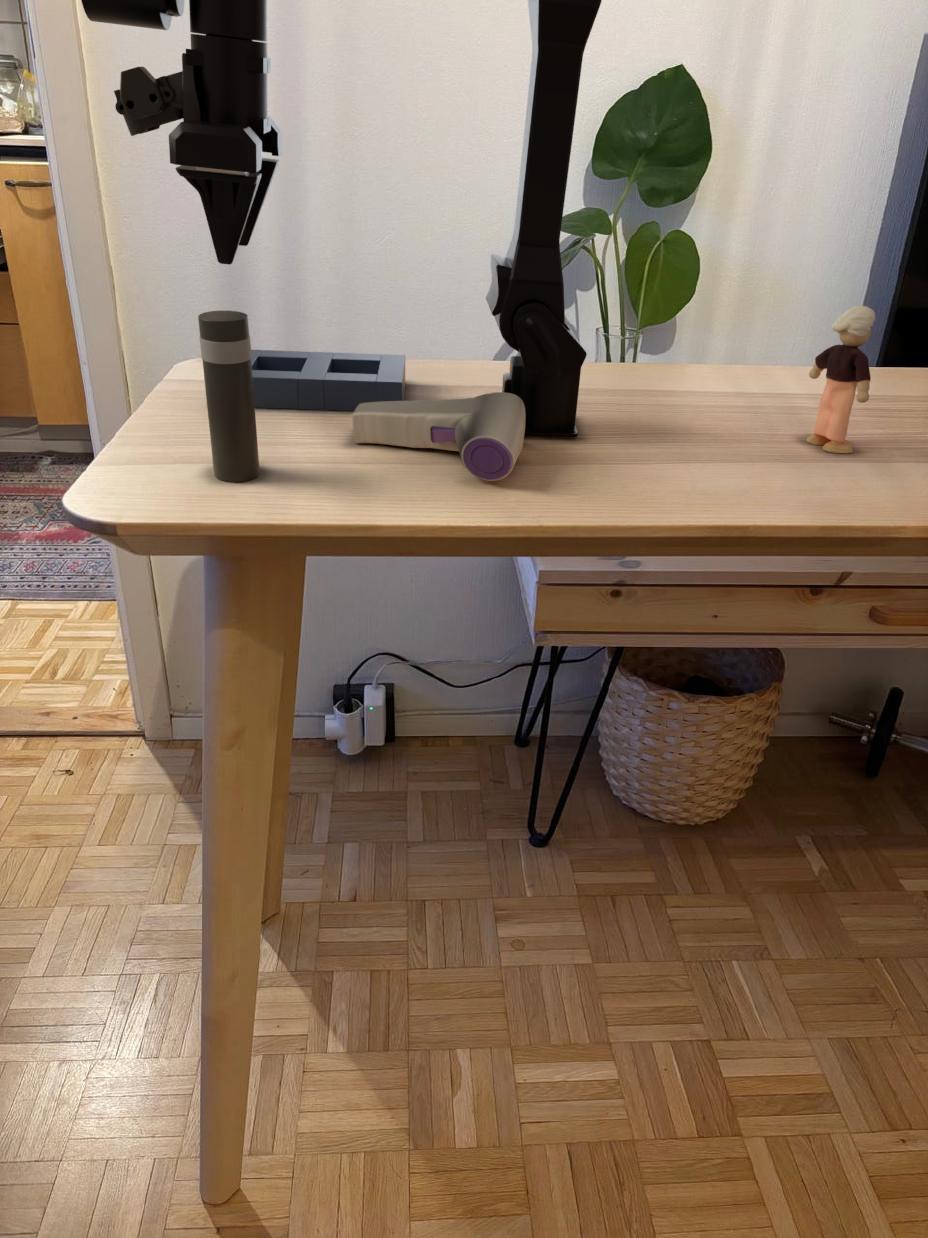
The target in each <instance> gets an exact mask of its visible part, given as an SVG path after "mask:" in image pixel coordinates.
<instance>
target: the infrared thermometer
mask: <svg viewBox="0 0 928 1238" xmlns="http://www.w3.org/2000/svg"><path fill="white" fill-rule="evenodd" d="M351 417H352V428H353V429H352V431H353V440H354V444H378V445H388V446H396V447H397V446H398V447H406V448H414V449H435V450H446V451H453V452H459V453H458V454H459V456H460V459H461V462H462V464H463V466H464V468H465V469H466V470H467V471H468V472H469V473H470V474H471V475H472V476H474V477H476V478H478V479H481V480H484V481H489V482H490V481H491V482H493V481H501V480H503V479H505V478H507V476H509V474H511V473H512V471H513V469H514V467H515V465H516V462H517V460H518V458H519V456H520V454H521V453H522V450H523V446H524V440H525V436H524V433H525V420H526V417H525V406H524V403H523V401H522V399H521V398H520V397H518V396H517V395H515V394H511V393H505V392H502V391H501V392H499V391H498V392H497V391H496V392H490V393H489V392H488V393H484V394H480V395H477V396H475V397H468V398H467V397H465V398H449V399H448V398H447V399H428V400H425V399H424V400H403V401H381V402H368V403H360V404H358V406H357V407H356V409H355V410H354V411H352V416H351Z"/></svg>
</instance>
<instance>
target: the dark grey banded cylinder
mask: <svg viewBox="0 0 928 1238" xmlns="http://www.w3.org/2000/svg"><path fill="white" fill-rule="evenodd" d="M197 319H198V330H199V345H200V355H201V359H202V369H203V377H204V388H205V398H206V407H207V418H208V427H209V437H210V444H211V445H210V446H211V457H212V465H213V475H214V477H215V478H216V479H217V480H219V481H223V482H230V483H240V482H241V483H242V482H247V481H251V480H254V479H256V478H257V477H259V475H260V471H261V470H260V460H259V459H260V458H259V445H258V433H257V419H256V408H255V404H254V391H253V377H252V364H251V357H252V355H251V350H252V344H251V343H252V341H251V335H250V326H249V325H250V324H249V316H248V314H247V313H245V312H242V311H237V310H210V311H205V312H202V313H199V314H198V317H197Z"/></svg>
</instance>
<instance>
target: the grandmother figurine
mask: <svg viewBox="0 0 928 1238" xmlns="http://www.w3.org/2000/svg"><path fill="white" fill-rule="evenodd" d="M875 321H876V314H875V311H874V310H873V309H872V308H870V307H868V306H867V305H855V306H853V307H851V308H849V309H847V310H846V311H844V312H843V313H842V314H840V316H839V317H838V318H837V319H836V321H835V323H833V324H832V330H833V332H836V333H837V334H838V335H839V340H840V342H841V344H834V345H832V346H830V347H828V348H826V349H825V350H823V351H822V352H820V353H819V354H818V355H817V356H815V358H814V363H813V364H812V368H811V369H809V371H808V376H809V378H811V379H813V380H815V379H816V380H817V379H818V378H820V375H821V372H823V371H824V370H826V372H825V379H826V382H825V385H824V388H823V391H822V393H821V397H820V400H819V404H818V408H817V413H816V418H815V422H814V426H813V434H811V435H809V436H808V437H807V438H806V443H808V444H811V445H814V446H822V449H823V451H825V452H828V453H834V454H852V453H853V452H854V446H853V444H852V443H851V441H849V440H847V439H846V438H847V435H848V427H849V422H850V418H851V413H852V408H853V405H854V400H855V396H856V401H857V402H858V403H861V404H863V403H867V402H868V401H869V399H870V394H869V391H870V385H871V384H870V383H871V378H872V377H871V371H870V365H869V357H868V356H867V355H866V354H865V353H864V352H863V351H862V350H861V349H860V348H859V347H861V346H863V345H865V344H866V343H867V342H868V340H869V338H870V336H871V332H872V330H871V328H872V327H874V323H875ZM856 391H857V394H856Z"/></svg>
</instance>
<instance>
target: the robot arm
mask: <svg viewBox="0 0 928 1238" xmlns="http://www.w3.org/2000/svg"><path fill="white" fill-rule="evenodd" d="M80 1H81V5H82V8H83V11H84V13H85V15H86V17H87V19H88V20H89V21H90V22H93V23H94V22H95V23H96V22H97V23H104V24H111V25H112V24H113V25H121V26H129V27H138V28H145V29H152V30H162V31H169V29H170V27H171V25H172V19H173V17H176V18H179V17H183V15H184V11H185V5H186V4H185V2H186V0H80ZM188 5H189V7H188V8H189V25H190V26H189V32H190V48H185V52H182V53H181V65H182V66H181V67H182V69H181V71H178V72H175V73H171V74H167V75H161V76H159V77H157V78H155V77H154V76H153V74H152V73H151V72H150V71H149V70H148V69H147V68H146V67H145V66H136V67H133V68H128V69H126V70H123V71H120V84H119V88H118V89H115V90H113V93H114V96H115V98H116V103H115V107H114V108H115V110H116V112H117V113H118V114H119V115H122V116H123V119H124V121H125V124H126V127H127V129H128V132H129V134H130V136H131V137H134V136H136V135H142V134H145V133H149V132H152V131H155V130H159V129H160V128H161V126H163V125H165V124H169V123H173V122H177V121H180V120H183V121H181V122H179V123H178V125H176V126H175V128H174V129H173V130H172V131H171V132H170V133H168V148H169V164H172V165H174V166H175V165H176V167H175V171H176V172H177V174H178V175H179V176H180V177H183V178H184V179H185V180H186V181H187V182H188V183H189V184H190V185H191V186H192V187H193V188H194V190H195V191H197V193H198V194H199V197H200V200H201V204H202V207H203V211H204V214H205V218H206V222H207V225H208V229H209V233H210V236H211V241H212V244H213V249H214V252H215V256H216V259H217V262H218V263H219V264H221V265H232V264H233V262H234V260H235V257H236V255H237V252H238V249H239V246H241V247H247V246H248V245H249V244H250V241H251V238H252V235H253V233H254V230H255V228H256V225H257V221H258V219H259V216H260V215H261V214H260V213H261V211H262V208H263V205H264V203H265V201H266V197H267V195H268V192H269V189H270V187H271V185H272V182H273V179H274V176H275V174H276V172H277V169H278V166H279V164H280V159H277V158H271V157H270V158H269V157H263V153H268V154H270V153H271V156H273V157H280V156H281V155H282V154H283V130H282V129H281V128H280V127H279V125H277V123H276V122H275V121H274V120H273V118H272V116H269V115H268V112H269V110H268V107H269V106H268V105H269V104H268V102H269V101H268V100H269V99H268V97H269V95H268V74H271V73H272V67H271V66H272V58H270V57H268V0H188ZM601 5H602V0H527V8H528V18H529V27H530V35H531V36H530V37H531V48H532V49H531V51H532V52H531V63H530V70H529V84H528V89H527V90H528V91H527V100H526V110H525V120H524V131H523V141H522V148H521V158H520V168H519V178H518V188H517V197H516V208H515V215H514V216H515V218H514V226H513V233H512V236H511V240H510V242H509V245H508V248H507V251H506V253H505V256H502V255H499V254H495V253H491V254H490V255H489V256H490V272H491V273H490V274H491V280H490V281H491V282H490V286H489V289H488V292H487V294H486V296H485V300H486V303H487V305H488V308H489V310H490V313H491V315H492V316H493V317H494V320H495V322H496V325H497V327H498V330H499V333H500V335H501V337H502V339H503V340H504V342H505V343H506V344H507V345H508V346H509V347H510V348H512V349H513V350H515V351H516V352H517V353H518V355H511V356H510V357H509V360H510V361H509V372H504V373H503V375H502V386H501V387H502V388H501V392H505V393H511V394H515V395H517V396H518V397H520V398H521V399H522V401H523V403H524V406H525V417H526V420H525V433H524V437H527V438H528V437H530V438H558V439H559V438H560V439H563V438H565V439H576V438H578V436H579V431H578V428H577V426H576V419H577V410H578V409H577V408H578V402H579V401H578V400H579V391H580V383H581V372H582V367H583V364H584V362H585V360H586V358H587V356H588V355H587V352H586V350H585V348H584V347H583V346H582V344H581V342H580V341H579V339H578V338H577V336H576V335H575V334H574V332H573V331H572V329H571V328H570V327H569V326H568V324H567V323H566V321H565V320H566V314H565V311H566V310H565V285H564V275H563V265H562V256H561V246H560V245H561V244H560V240H561V232H562V226H563V225H562V223H563V217H564V216H563V215H564V208H565V200H566V193H567V185H568V177H569V170H570V169H569V168H570V161H571V153H572V152H571V151H572V145H573V138H574V137H573V136H574V130H575V129H574V128H575V123H576V113H577V105H578V97H579V90H580V84H581V83H580V81H581V75H582V67H583V58H584V53H585V50H586V46H587V43H588V40H589V37H590V35H591V32H592V29H593V26H594V24H595V22H596V18H597V15H598V13H599V10H600V7H601Z"/></svg>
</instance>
